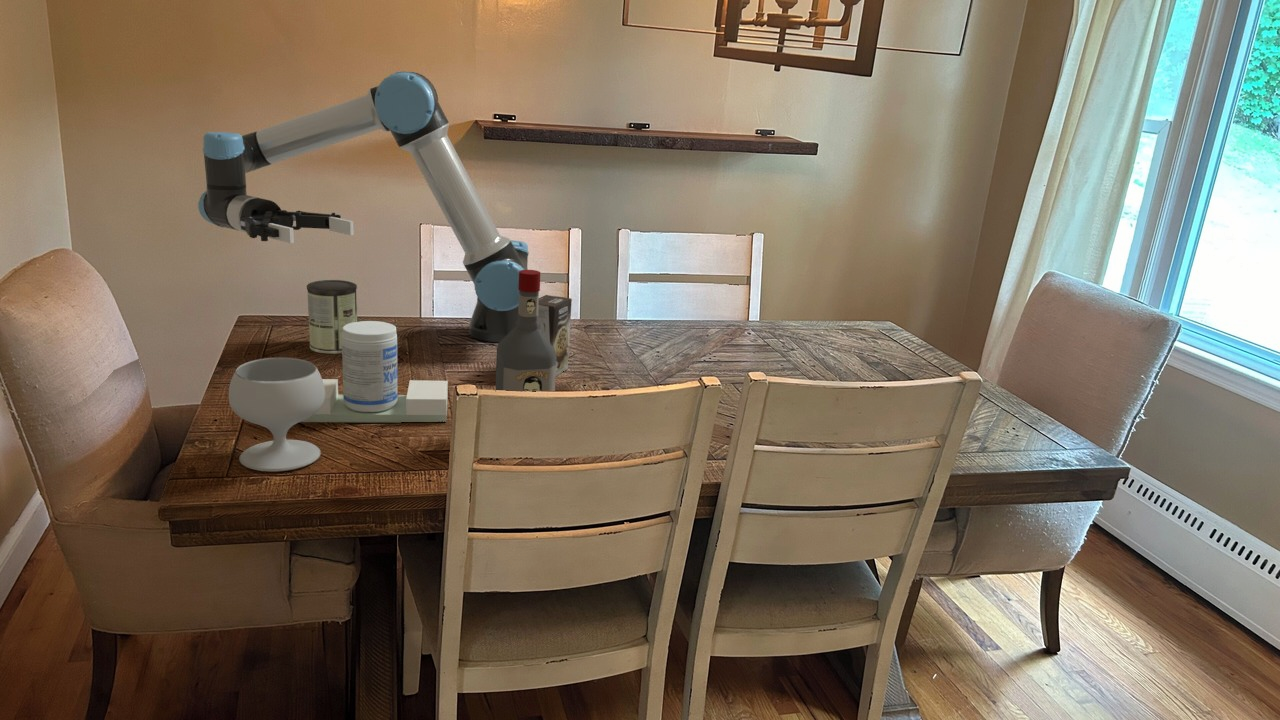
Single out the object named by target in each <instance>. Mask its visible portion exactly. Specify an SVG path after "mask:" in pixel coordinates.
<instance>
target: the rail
mask: <svg viewBox="0 0 1280 720" xmlns="http://www.w3.org/2000/svg"><path fill="white" fill-rule="evenodd" d="M322 380H323V384H324V388H325V399H324V402H323V404H322V406H321V408H320V409H319V410H318V411H317V412H316V413H315V414H313V415H312V416H310V417H309V418H307V419H305V420H303V421H301V422H300V423H401V422H438V421H440V422H441V421H443V422H444V421H445V422H446V423H447V417H446V416H448V415H447V414H448V390H449V389H448V386H449V383H448V381H449V380H426V379H425V380H417V379H416V380H415V379H412V380H411V379H410V380H409V384H408V388H407V391H406V392H407V394H397V403H396V404H395V406H393V407H392V408H390V409H387V410H384V411H378V412H359V411H354V410H351V409H349V408H348V407H347V406H346V405H345V404H344V398H343V394H342V393H341V394H339V379H335V378H325V379H324V378H322Z"/></svg>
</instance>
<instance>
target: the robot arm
mask: <svg viewBox="0 0 1280 720" xmlns="http://www.w3.org/2000/svg"><path fill="white" fill-rule="evenodd" d="M449 128H450V122H449V120H448V119H447V116H446V115H445V112H444V110H443V108H442V107H441V105H440V103H439V98H438V92H437V89H436V87H435V86H434V84H433V83H432V82H431V81H430V79H429V78H427V77H426V76H425V75H423V74H422V73H421V74H420V73H418V72H414V71H397V72H394V73H391V74H390V75H388V76H387V77H385V78H383V80H381V82H380V83H379V84H378V85H377V86H375V87H371V88H369V89H368V91H367V93H366V95H363V96H360V97H356V98H353V99H350V100H347V101H344V102H340V103H338V104H334V105H331V106H329V107H326V108H323V109H320V110H317V111H314V112H311V113H307V114H305V115H302V116H299V117H296V118H291V119H289V120H287V121H284V122H283V121H282V122H280V123H277V124H274V125H272V126H268V127H265V128H262V129H260V130H257V131H253V132H250V133H247V134H244V135H241V134H240V133H238V132H231V131H230V132H229V131H209V132H208V131H207V132H206V133H204V135H203V139H202V141H203V142H202V144H203V147H202V153H203V157H204V158H203V159H204V169H205V180H206V182H205V183H206V190H205V191H204V192H203V193H202V194H201V195H200V198H199V200H198V204H197V206H198V212H199V214H200V216H201V217H202V218H203V219H204V220H205V221H206V222H208V223H210V224H213V225H216V226H217V227H220V228H226V229H231V230H235V231H239V232H244V233H245V234H246V235H247V236H248V237H250V238H251V239H256V238H258V237H260V241H261V242H268V241H269V239H273V240H276V241H281V242H284V243H288V244H294V243H295V239H294V238H295V237H294V236H295V235H294V234H295V233H294V231H299V230H300V229H302V228H304V229H321V230H322V229H323V230H329V232H330V231H331V232H334V233H340V234H344V235H347V236H354V235H355V231H354V221H353V220H349V219H344V218H341V214H336V213H335V212H331V214H329V213H320V212H309V211H302V210H296V211H287V210H286V209H285V210H284V209H281V207H280V206H279V204H277V203H276V202H275V201H273V200H270V199H265V198H262V197H257V196H252V195H248V194H247V180H246V179H247V178H246V177H247V176H246V174H247V173H250V172H253V171H257V170H260V169H261V168H265V167H268V166H271V165H273V164H276V163H280V162H282V161H285V160H288V159H289V160H290V159H291V158H292V159H293V158H295V157H298V156H302V155H303V154H307V153H310V152H314V151H316V150H319V149H323V148H326V147H328V146H331V145H334V144H338V143H341V142H343V141H347V140H351V139H353V138H357V137H359V136H363V135H365V134H369V133H373V132H375V131H377V130H382V131H383V132H390V133H391V135H392V136H393V137H392V138H394V140H395V142H396V144H397V146H398V147H399V149H400V150H402V151H406V152H408V153H410V155H411V156H412V158H413V160H414V162H415V164H416V165H417V167H418V169H419V171H420V173H421V175H422V176H423V178H424V180H425V182H426V184H427V186H428V187H429V189H430V191H431V193H432V195H433V197H434V198H435V200H436V202H437V205H438V206H439V208H440V210H441V212H442V213H443V215H444V217H445V218H446V220H447V222H448V224H449V226H450V228H451V230H452V231H453V233H454V235H455V237H456V239H457V241H458V243H459V245H460V246H461V248H462V250H463V252H464V257H463V261H462V264H463V266H464V268H465V270H466V272H467V274H468V275H469V278H470V279H471V281H472V282H473V284H474V286H473V287H474V291H475V294H476V298H477V299H476V303H475V307H474V310H473V313H472V316H471V318H470V321H469V324H468V334H469V335H470V336H471V337H473V338H474V339H477V340H481V341H484V342H492V343H499V342H500V341H501V340H502V339H504V338H505V337H506V336H507V335H508V334H509V333H510V332H511V331H512V330H513V329H514V328H515V327H516V322H517V320H518V307H519V290H518V286H519V271H520V270H529V269H528V265H529V263H528V260H529V259H528V257H529V246H528V244H527V242H525V241H520V240H511V239H510V238H509V237H506V236H503V235H502V234H500V232H499V230H498V229H497V227H496V225H495V223H494V221H493V219H492V217H491V215H490V213H489V211H488V210H487V208H486V206H485V204H484V202H483V200H482V198H481V196H480V195H479V193H478V191H477V189H476V186H475V185H474V183H473V182H472V179H471V177H470V175H469V173H468V172H467V169H466V168H465V165H464V164H463V162H462V161H461V160H462V159H461V158H460V157H459V154H458V152H457V151H456V149H455V147H454V145H453V143H452V142H451V139H450V138H449V136H448V132H449ZM294 222H295V225H294Z"/></svg>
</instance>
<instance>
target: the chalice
mask: <svg viewBox="0 0 1280 720" xmlns="http://www.w3.org/2000/svg"><path fill="white" fill-rule="evenodd" d="M322 379H323V378H322V375H321V373H320V371H319V370H318V368H317V365H315V363H312V362H310V361H308V360H305V359H301V358H296V357H267V358H259V359H255V360H250V361H248V362H244V363H243V364H241V365H239V366H238V367H237V368H236V369H235V371H234V373H233V375H232V377H231V380H230V383H229V387H228V402H229V406H230V408H231V410H232V411H233V412H234V414H236V416H238V417H239V418H240V419H243V420H244V421H247V422H249V423H252V424H255V425H259V426H261V427H264V428H266V429H268V430H269V431H270V433H271V434H272V436H273V439H272V440H269V441H264V442H260V443H256V444H254V445H252V446H249V447H247V448H246V449H245V450H244V451H243V452H241V453H240V455H239V458H238V461H239V462H240V464H241V465H243V466H244V467H245V468H247V469H251V470H255V471H260V472H284V471H285V472H286V471H292V470H293V471H294V470H298V469H301V468H304V467H306V466H309V465H311V464H312V463H315V462H316V461H317V460H319V458H320V457H321V456H322V455H321V454H322V452H321V449H320V448H319V447H318V446H316V445H315V444H314V443H312V442H308V441H306V440H298V439H287V434H288V432H289V430H290V429H291V428H292V427H293V426H294V425H296V424H298V423H302V422H301V421H303V420H305V419H307V418H309V417H310V416H312V415H313V414H315V413H316V412H317V411H318V410H319V409H320V408H321V406H322V404H323V402H324V399H325V388H324V384H323V380H322Z"/></svg>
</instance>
